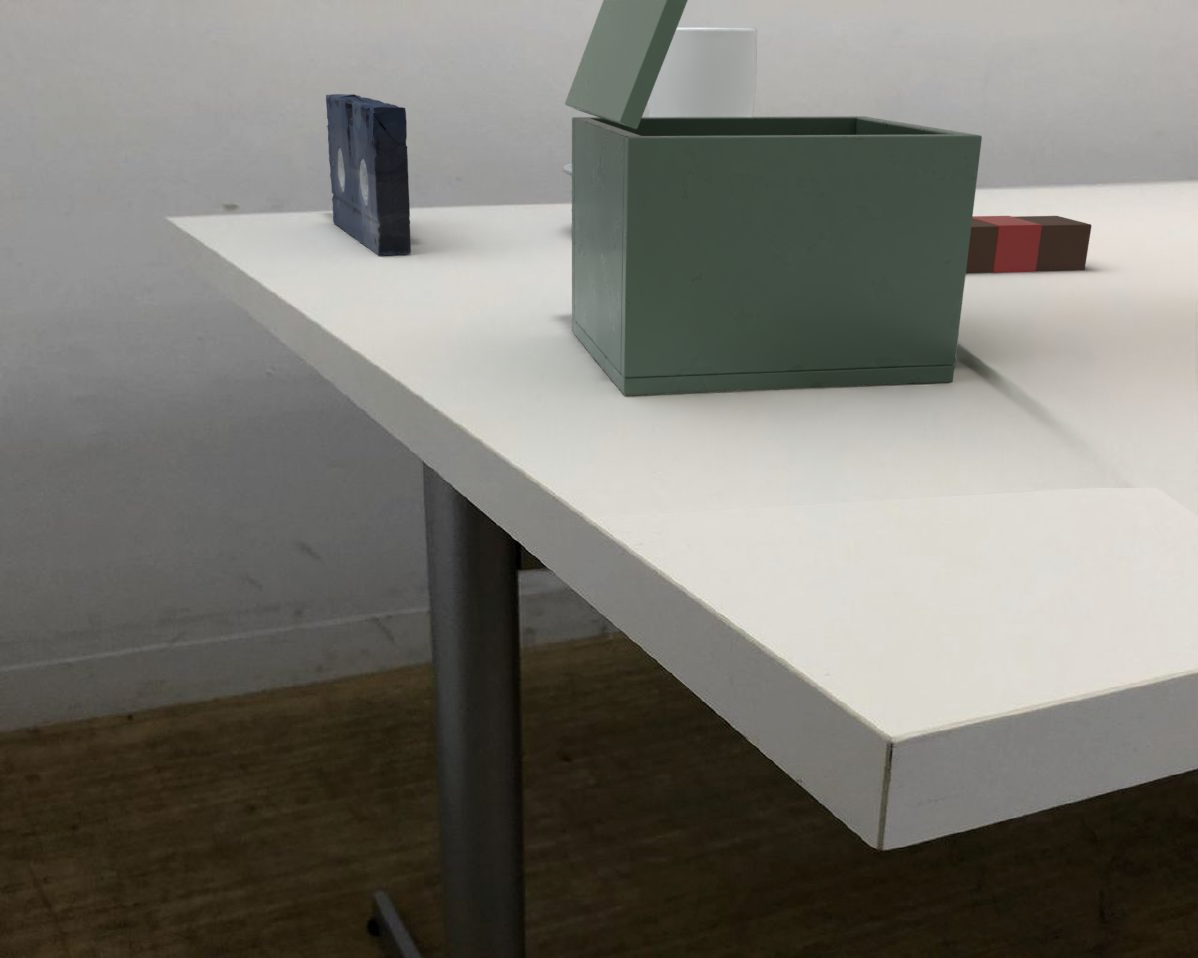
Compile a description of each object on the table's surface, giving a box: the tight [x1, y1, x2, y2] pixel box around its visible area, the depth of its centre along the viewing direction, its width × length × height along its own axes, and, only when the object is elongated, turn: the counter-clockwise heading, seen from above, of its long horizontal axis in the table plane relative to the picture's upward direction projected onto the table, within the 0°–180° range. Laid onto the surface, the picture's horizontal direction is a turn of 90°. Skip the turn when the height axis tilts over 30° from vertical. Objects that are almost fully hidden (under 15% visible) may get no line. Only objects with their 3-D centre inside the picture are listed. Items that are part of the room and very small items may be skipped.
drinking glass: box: [647, 26, 758, 117], centre depth 83 cm, size 7×7×15 cm
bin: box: [571, 115, 983, 397], centre depth 63 cm, size 16×14×11 cm
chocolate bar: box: [966, 215, 1092, 274], centre depth 85 cm, size 10×4×4 cm, turn 101°
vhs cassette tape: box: [325, 93, 412, 256], centre depth 99 cm, size 18×3×10 cm, turn 19°
